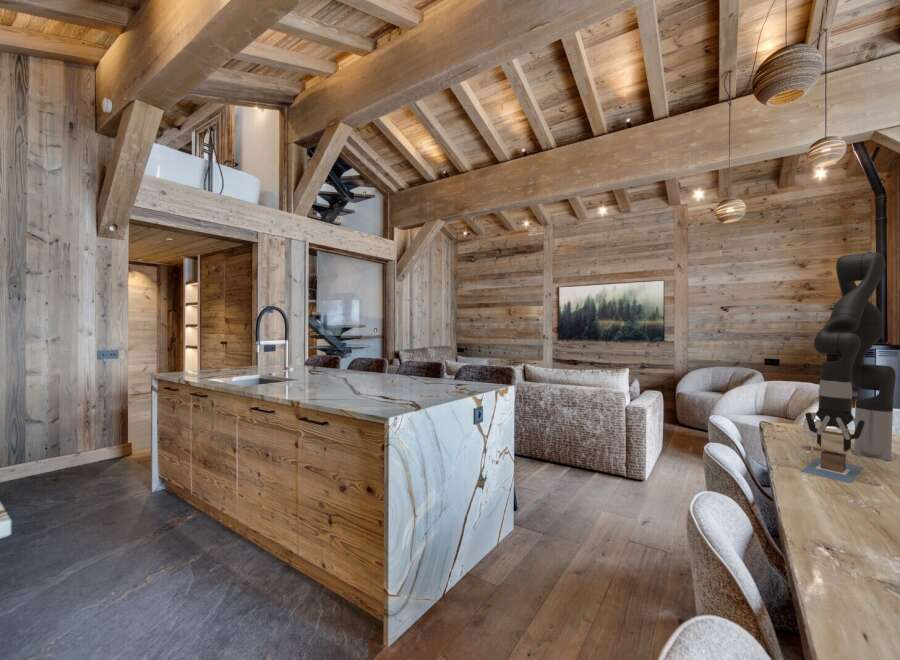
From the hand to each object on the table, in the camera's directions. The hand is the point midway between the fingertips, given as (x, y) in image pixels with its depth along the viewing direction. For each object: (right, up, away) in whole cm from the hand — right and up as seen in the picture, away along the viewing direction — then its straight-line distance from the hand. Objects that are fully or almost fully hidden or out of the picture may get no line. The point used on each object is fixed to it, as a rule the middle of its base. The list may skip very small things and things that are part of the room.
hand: (833, 448), depth 125 cm
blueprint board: (0, -8, 0) cm, 8 cm away
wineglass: (+13, -8, +21) cm, 26 cm away
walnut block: (0, -7, 0) cm, 7 cm away
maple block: (0, 0, 0) cm, 0 cm away
